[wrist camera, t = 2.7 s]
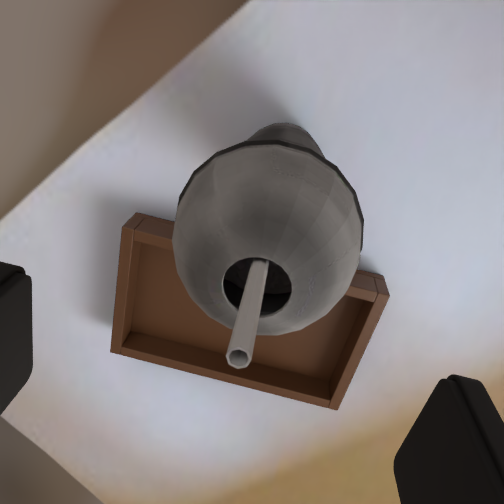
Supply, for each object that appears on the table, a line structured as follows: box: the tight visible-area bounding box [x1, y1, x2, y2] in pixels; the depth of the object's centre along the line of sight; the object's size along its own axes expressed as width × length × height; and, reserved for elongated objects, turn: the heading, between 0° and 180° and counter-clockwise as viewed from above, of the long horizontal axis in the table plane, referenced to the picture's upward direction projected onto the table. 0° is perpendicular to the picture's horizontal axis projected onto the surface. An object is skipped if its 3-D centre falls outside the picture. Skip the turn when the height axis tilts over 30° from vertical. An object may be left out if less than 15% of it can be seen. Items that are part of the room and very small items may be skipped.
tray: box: [110, 212, 390, 410], centre depth 31 cm, size 18×11×3 cm, turn 77°
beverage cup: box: [172, 123, 364, 369], centre depth 18 cm, size 7×7×20 cm
